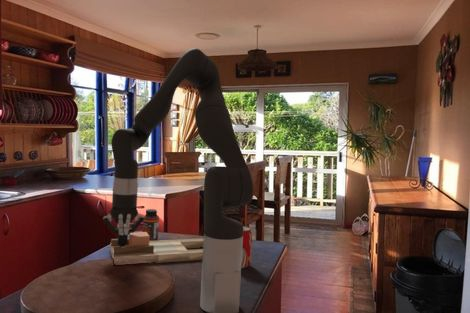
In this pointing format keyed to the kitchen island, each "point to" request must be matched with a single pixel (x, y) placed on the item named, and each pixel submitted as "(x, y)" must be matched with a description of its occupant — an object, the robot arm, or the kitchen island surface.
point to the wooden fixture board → (159, 250)
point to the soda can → (246, 247)
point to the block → (138, 239)
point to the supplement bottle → (151, 224)
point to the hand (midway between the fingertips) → (122, 245)
